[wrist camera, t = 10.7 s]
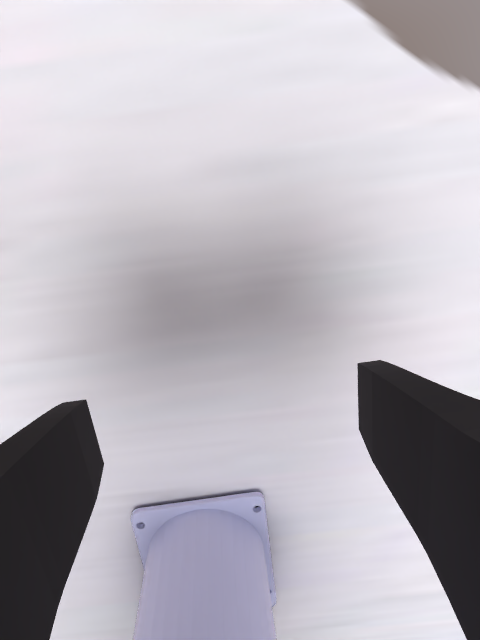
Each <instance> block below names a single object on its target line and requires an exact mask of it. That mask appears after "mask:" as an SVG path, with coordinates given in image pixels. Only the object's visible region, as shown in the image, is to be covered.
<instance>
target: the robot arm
mask: <svg viewBox="0 0 480 640" xmlns="http://www.w3.org/2000/svg"><path fill="white" fill-rule="evenodd" d="M358 409H359V430H360V433H361V435H362V438H363V440H364V442H365V445H366V447H367V450H368V452H369V454H370V456H371V459H372V461H373V463H374V464H375V466H376V468H377V470H378V471H379V473H380V475H381V476H382V478H383V480H384V481H385V483H386V485H387V486H388V488H389V490H390V491H391V493H392V495H393V496H394V498H395V500H396V501H397V503H398V505H399V506H400V508H401V510H402V511H403V513H404V515H405V516H406V518H407V520H408V521H409V523H410V525H411V526H412V528H413V530H414V531H415V533H416V535H417V536H418V538H419V540H420V542H421V544H422V545H423V547H424V549H425V551H426V553H427V555H428V557H429V559H430V561H431V563H432V565H433V567H434V569H435V571H436V573H437V576H438V578H439V580H440V582H441V584H442V586H443V588H444V590H445V592H446V594H447V597H448V599H449V601H450V603H451V605H452V608H453V610H454V612H455V614H456V616H457V619H458V621H459V623H460V625H461V627H462V630H463V632H464V634H465V636H466V638H467V640H480V400H478V399H475V398H472V397H470V396H467V395H464V394H462V393H459V392H457V391H454V390H452V389H449V388H447V387H444V386H442V385H440V384H437V383H435V382H432V381H430V380H428V379H426V378H423V377H421V376H419V375H416V374H414V373H412V372H410V371H407V370H405V369H403V368H400V367H398V366H395V365H393V364H390V363H388V362H385V361H381V360H378V361H371V362H363V363H358ZM103 466H104V462H103V458H102V455H101V451H100V448H99V444H98V441H97V437H96V433H95V430H94V426H93V423H92V419H91V415H90V412H89V408H88V405H87V401H86V400H80V401H72V402H65V403H61V404H60V405H58V406H56V407H54V408H53V409H51V410H49V411H48V412H46V413H45V414H43V415H42V416H40V417H39V418H37V419H36V420H35V421H33V422H32V423H30V424H29V425H27V426H26V427H25V428H23V429H22V430H20V431H19V432H17V433H16V434H15V435H13V436H12V437H10V438H9V439H7V440H6V441H5V442H3V443H2V444H0V640H49V639H50V635H51V631H52V627H53V624H54V620H55V616H56V612H57V609H58V605H59V602H60V599H61V596H62V593H63V590H64V587H65V584H66V581H67V579H68V576H69V573H70V571H71V568H72V565H73V563H74V560H75V557H76V554H77V552H78V549H79V546H80V544H81V541H82V538H83V536H84V533H85V530H86V527H87V525H88V522H89V519H90V516H91V514H92V511H93V508H94V505H95V502H96V499H97V495H98V490H99V486H100V482H101V477H102V472H103ZM255 506H259V507H257V508H255ZM131 522H132V526H133V530H134V534H135V537H136V541H137V545H138V549H139V552H140V556H141V560H142V564H143V568H144V571H145V572H144V577H143V583H142V589H141V595H140V601H139V607H138V612H137V618H136V624H135V630H134V636H133V640H277V639H276V632H275V625H274V618H273V611H272V607H273V606H274V605H275V604H276V592H275V584H274V576H273V567H272V559H271V551H270V542H269V534H268V526H267V517H266V509H265V501H264V496H263V494H262V493H260V492H250V493H243V494H236V495H229V496H221V497H214V498H207V499H200V500H193V501H186V502H179V503H172V504H164V505H157V506H150V507H143V508H137V509H135V510H134V511H133V512H132V514H131ZM139 522H142V523H144V524H140V523H139Z"/></svg>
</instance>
